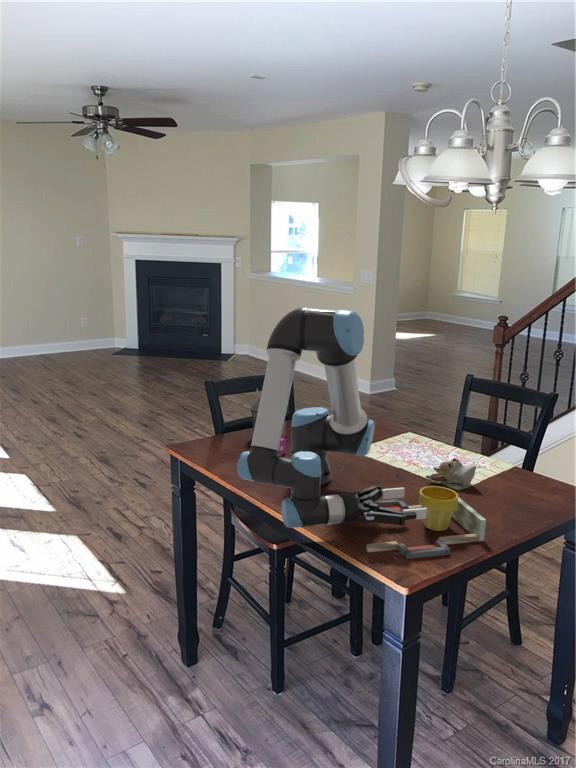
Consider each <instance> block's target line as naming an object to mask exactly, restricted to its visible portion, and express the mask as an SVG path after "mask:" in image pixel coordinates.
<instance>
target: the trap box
mask: <svg viewBox="0 0 576 768" xmlns="http://www.w3.org/2000/svg"><path fill="white" fill-rule="evenodd" d="M407 506H408V507H407V509H417V508H422V507H421V505H420V504H414V505H407ZM452 518H453V520H455V521H456V522H457V523H458V524H459V525H460V526H461V527H463V529H464V530H466V531H467V532H468V533H469V534H468V533H467V534H458V535H447V536H438V537H437V540H442V541H443V542H444V543H445V544H446V545H447V546H448V545H455V544H466V543H467V544H468V543H474V542H477V543H478V542H485V537H486V536H485V534H486V525H487V519H486V518H485V517H484V516H483V515H481V514H479V513H478V512H477V511H476V510H475V509H474V508H473V507H471V506H470V505H469V504H468V503H467V502H465V501H464V500H463V499H462V498H460V497H459V496H458V504H457V508H456V509H455V510H454V511H453V514H452V517H451V519H452ZM398 544H399V543H398V542H397V541H396V540H395V541H386V542H375V543H366V545H365V549H366V552H367V553H376V552H384V551H385V552H386V551H393V550H394V551H397V550H398Z"/></svg>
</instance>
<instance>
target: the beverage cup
mask: <svg viewBox="0 0 576 768" xmlns="http://www.w3.org/2000/svg"><path fill="white" fill-rule="evenodd" d="M256 397H257V399H256V400H254V401H253V402H252V404H251V407H250V414H251V419H252V435H253V434H254V429H255V424H256V419H257V414H258V409H259V404H260V399H261V398H259V397H260V396H259V388H256Z"/></svg>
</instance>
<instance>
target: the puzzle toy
mask: <svg viewBox="0 0 576 768" xmlns="http://www.w3.org/2000/svg"><path fill="white" fill-rule="evenodd" d="M286 441H287V439H286V438H282V437H281V441H280V446H279V452H278V455H280V454H282V453H284V452H285V453H286Z"/></svg>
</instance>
